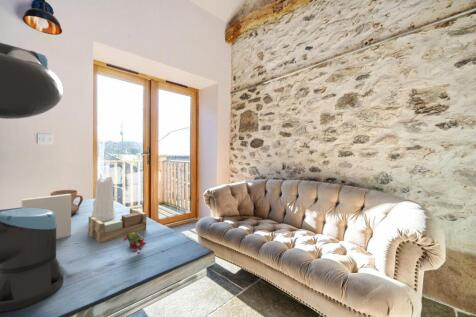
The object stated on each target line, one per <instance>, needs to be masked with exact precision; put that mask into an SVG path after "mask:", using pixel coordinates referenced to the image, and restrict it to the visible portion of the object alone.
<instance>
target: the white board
mask: <svg viewBox="0 0 476 317" xmlns="http://www.w3.org/2000/svg"><path fill="white" fill-rule="evenodd" d="M25 208H36V209H46V210H50V211H53V212H54V213H55V215H56V223H57V228H56V240H58V239H62V238H65V237H70V236H71V235H72V215H71V194H64V195H55V196H51V195H49V196H48V195H47V196H39V197H38V196H37V197H30V198H21V209H25Z"/></svg>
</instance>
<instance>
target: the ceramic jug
mask: <svg viewBox="0 0 476 317" xmlns="http://www.w3.org/2000/svg"><path fill="white" fill-rule="evenodd" d="M49 194H50V196H55V195H64V194H71V216H72V215H73V214H76V213H77V212H79V211H80V206H81V205H82V204H83V200H84V197H83V195H81V194H78V190H77V189H60V190H54V191H53V190H52V191H50V193H49ZM77 198H79V202H78V204H76V203H74V201H75V200H76V199H77Z"/></svg>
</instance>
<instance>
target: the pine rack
mask: <svg viewBox="0 0 476 317" xmlns="http://www.w3.org/2000/svg"><path fill="white" fill-rule="evenodd" d="M136 212H137V213H139V214H140V224H137V225H133V226H129V227H125V228H121V229H118V230H114V231H110V232H106V233H105V222H104V221H100V220H98V219H97V218H95V217H93V216H92V215H91V216H88V225H87V226H88V227H87V228H88V230H87V231H88V232H87V234H88V235H89V236H90V237H91V238H93V239H94V240H95V241H97V242H98V243H99V244H103V243H106V242H110V241H113V240H116V239H119V238H123V237H127V236H126V234H130V233H132V232H137V233H139V232H143V231H146V230H147V213H146V212H144V211H141V210H138V209H136V208H133V207H131V208H129V214H131V213H136ZM119 220H121V221H122V218H120V219H119Z"/></svg>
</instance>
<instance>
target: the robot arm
mask: <svg viewBox="0 0 476 317" xmlns="http://www.w3.org/2000/svg"><path fill="white" fill-rule="evenodd" d="M63 92H64V91H63V85H62V83H61V80H60V79H59V77H58V76H57V75H56V74H55V73H54V72H53V71H52V70H51V69H49V61H48V57H47V56H46V55H45V54H42V53H40V52H39V53H38V52H36V51H35V50H29V49H26V48H21V47H18V46H15V45H11V44H7V43H3V42H0V119H6V120H7V119H9V120H10V119H13V120H14V119H24V118H30V117H35V116H37V115H38V116H39V115H41V114H44V113H46V112H49V111H50V110H52V109H54V108H55V107H56V106H57V105H58V103H60V101H61V100H62V97H63ZM56 228H57V223H56V215H55V213H54V212H53V211H50V210H46V209H36V208H25V209H22V208H16V209H15V208H13V209H9V210H7V209H6V210H3V211H0V313H2V312H3V311H5V312H11V311H16V310H19V308H20V309H23V308H25V307H29V306H31V305H34V304H36V303H38V302H41V301H43V300H45V299H46V298H48V297H50V296H51V295H53V294H54V293H56V292H57V291H58V290H59V289H61V287H62V286H63V284H64V281H65V280H64V271H63V269H62V266H61V265H60V263H59V261H58V259H57V239H56ZM15 309H16V310H15ZM3 313H4V312H3Z"/></svg>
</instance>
